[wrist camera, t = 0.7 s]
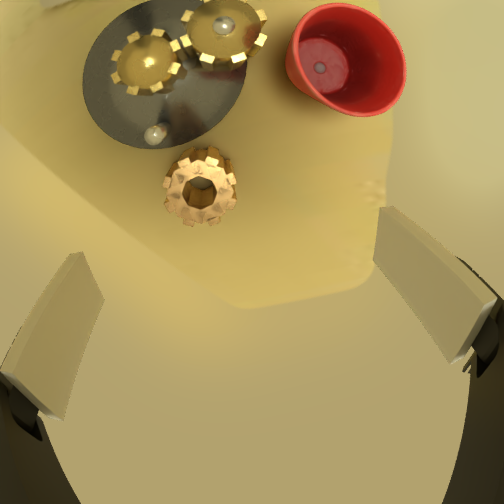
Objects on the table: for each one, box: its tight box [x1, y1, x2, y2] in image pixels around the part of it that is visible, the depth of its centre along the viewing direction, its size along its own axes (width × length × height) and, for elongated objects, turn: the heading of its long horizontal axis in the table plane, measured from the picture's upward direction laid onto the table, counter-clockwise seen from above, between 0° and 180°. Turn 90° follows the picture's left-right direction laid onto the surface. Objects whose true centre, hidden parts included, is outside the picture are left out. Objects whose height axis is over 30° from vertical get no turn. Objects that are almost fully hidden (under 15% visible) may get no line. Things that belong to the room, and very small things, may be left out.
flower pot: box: [285, 3, 406, 117], centre depth 20 cm, size 11×11×10 cm
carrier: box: [83, 0, 267, 149], centre depth 19 cm, size 18×20×8 cm
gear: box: [162, 146, 237, 227], centre depth 27 cm, size 7×7×6 cm
